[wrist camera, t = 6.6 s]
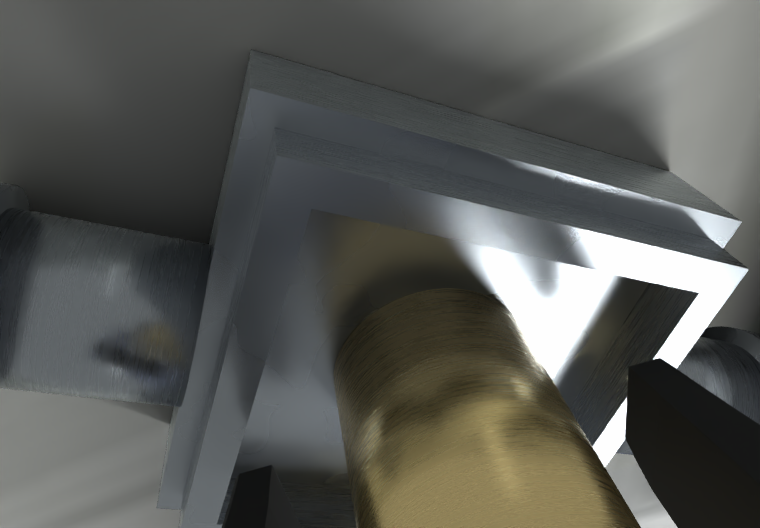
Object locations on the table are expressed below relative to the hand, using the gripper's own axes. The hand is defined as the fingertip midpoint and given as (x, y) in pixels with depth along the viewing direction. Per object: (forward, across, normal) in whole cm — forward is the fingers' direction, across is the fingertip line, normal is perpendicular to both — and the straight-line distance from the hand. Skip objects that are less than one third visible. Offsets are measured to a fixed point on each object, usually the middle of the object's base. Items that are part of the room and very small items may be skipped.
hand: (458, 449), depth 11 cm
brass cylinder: (+2, 0, 0) cm, 2 cm away
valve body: (+5, 0, 0) cm, 5 cm away
